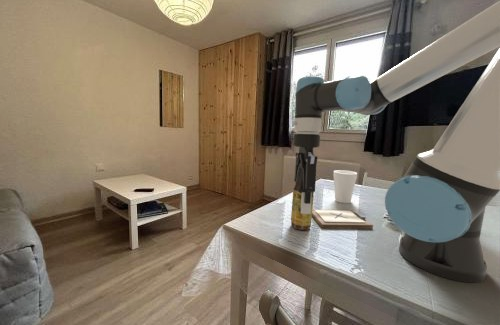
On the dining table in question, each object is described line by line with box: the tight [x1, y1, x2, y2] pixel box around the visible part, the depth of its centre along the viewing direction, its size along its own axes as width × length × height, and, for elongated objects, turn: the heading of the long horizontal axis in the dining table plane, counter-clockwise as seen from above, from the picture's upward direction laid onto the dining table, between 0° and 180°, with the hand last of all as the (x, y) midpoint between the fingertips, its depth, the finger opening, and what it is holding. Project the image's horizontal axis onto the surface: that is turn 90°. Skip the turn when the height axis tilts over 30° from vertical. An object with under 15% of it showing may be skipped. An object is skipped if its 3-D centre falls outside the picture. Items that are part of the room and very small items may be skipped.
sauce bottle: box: [290, 164, 315, 231], centre depth 64 cm, size 6×6×20 cm
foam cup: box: [332, 169, 358, 204], centre depth 92 cm, size 10×9×13 cm
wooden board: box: [312, 208, 374, 230], centre depth 72 cm, size 13×16×2 cm
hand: (302, 208), depth 65 cm, fingers closed on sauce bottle, 6 cm apart
